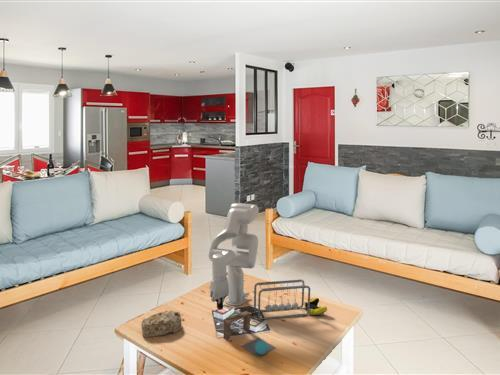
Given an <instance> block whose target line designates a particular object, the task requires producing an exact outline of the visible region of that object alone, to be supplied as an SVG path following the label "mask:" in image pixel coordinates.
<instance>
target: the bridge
mask: <svg viewBox="0 0 500 375" xmlns="http://www.w3.org/2000/svg"><path fill="white" fill-rule="evenodd" d="M242 319H243V321H242V322H243V323H242V330H243V331H245V332H250V331H249V329H250V330H251V312H249V311H248V310H246V311H243V312H240V313H237V314H235V315H232V316H230V317H227V318H226V319H223V339H225V340H227V341H229V340H231V336H232V335H231V331H232V328H231V327H232V325H231V323H234V322H236V321H239V320H242Z"/></svg>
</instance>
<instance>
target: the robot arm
mask: <svg viewBox="0 0 500 375" xmlns="http://www.w3.org/2000/svg"><path fill="white" fill-rule="evenodd" d="M229 208H230V209H229V210H228V212H227V216H226V219H225V223H224V227H223V229H222V231H221V232H220V233H218V234H217V235H216V236H215V237H214V239H213V240H212V242H211V243H210V248H209V251H208V259H209V261H210V262H211V266H212V270H211V271H212V274H211V276H212V279H211V281H210V283H209V297H210V301H211V302H216V308H217V309H218V310H220V311H221V310H224V302H225V304H227V305H228V306H234V307H235V306H242V305H244V304H245V303H246V302H247V299H246V297H247V296H250V292H249V291H245V290H244V288H245V287H244V282H245V280H244V279H245V276H244V275H245V273H244V271H243V269H249V270H251V269H254V268H255V266H256V263H257V262H256V261H257V255H258V249H259V248H258V247H259V239H258V236H257V235H256V234H253V233H248V230H249V224H252V223H253V222H254V221H255V220H256V219H257V217H258V215H259V207H258V206H257V204H254V203H252V204H251V203H244V202H242V203H241V202H237V203H236V202H235V203H232V204H231V205H230V207H229ZM228 240H231V246H232V247H233V248H234V249H237V250H232V249H226V248H218V247H219V246H220V245H221V244H222V243H224V242H226V241H228ZM242 250H246V251H242Z"/></svg>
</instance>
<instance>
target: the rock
mask: <svg viewBox="0 0 500 375" xmlns="http://www.w3.org/2000/svg"><path fill="white" fill-rule="evenodd" d="M140 323H141V333H142V336H143V337H145V338H149V337H153V338H155V337H159V336H164V335H167V334H170V333H178V331H180V330H182V327H183V326H182V325H183V324H182V316H181V313H180V311H175V310H165V311H163V312H162V311H161V312H157V313H154V314H151V315H150V316H148V317H146V318H143V319H142V320H141V322H140Z"/></svg>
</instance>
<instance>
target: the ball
mask: <svg viewBox="0 0 500 375" xmlns="http://www.w3.org/2000/svg"><path fill="white" fill-rule="evenodd" d="M264 341H265V340H264ZM264 341H259V342H257V343H256V345H255V351H256V352H257V353H258V354H260V355H261V356H262V355H265V354H266V353H268V352H267V349H268V347H267V344H266V343H265V342H264Z"/></svg>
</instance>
